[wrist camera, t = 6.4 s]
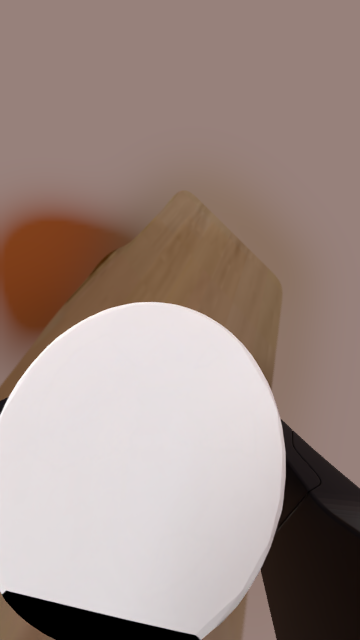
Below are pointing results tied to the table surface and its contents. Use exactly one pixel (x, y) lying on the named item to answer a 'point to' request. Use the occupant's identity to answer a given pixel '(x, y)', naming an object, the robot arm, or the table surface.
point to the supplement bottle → (138, 478)
